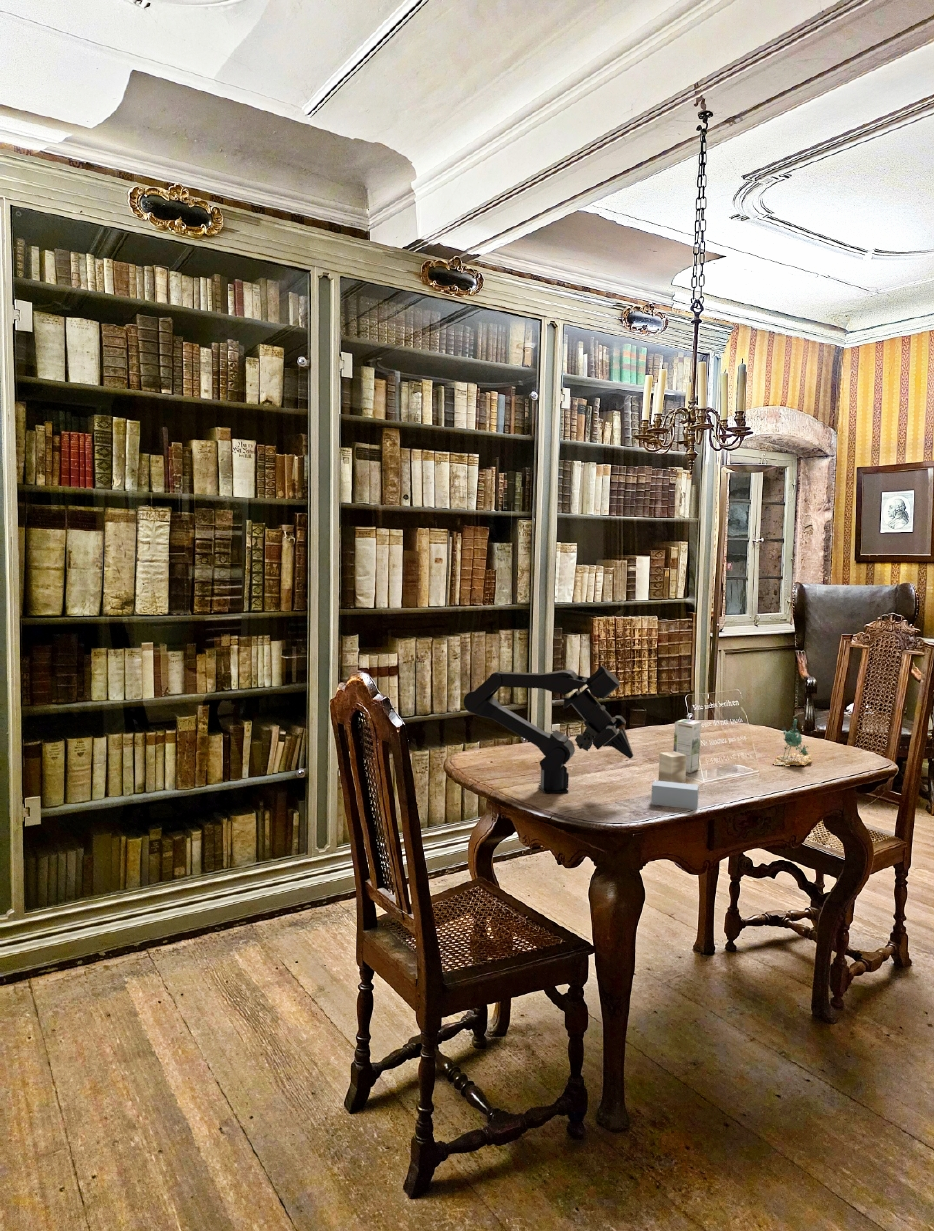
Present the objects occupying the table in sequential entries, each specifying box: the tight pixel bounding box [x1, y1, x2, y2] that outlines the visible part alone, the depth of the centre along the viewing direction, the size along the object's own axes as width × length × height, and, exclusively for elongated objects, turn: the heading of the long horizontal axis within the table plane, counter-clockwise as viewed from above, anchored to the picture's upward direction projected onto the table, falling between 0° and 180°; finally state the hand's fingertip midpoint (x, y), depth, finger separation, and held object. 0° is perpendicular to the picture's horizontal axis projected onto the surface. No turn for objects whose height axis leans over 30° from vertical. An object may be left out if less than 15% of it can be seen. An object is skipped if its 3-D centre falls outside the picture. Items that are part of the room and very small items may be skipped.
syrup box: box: [673, 718, 702, 774], centre depth 236 cm, size 6×6×14 cm
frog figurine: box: [773, 718, 812, 766], centre depth 247 cm, size 10×18×15 cm, turn 116°
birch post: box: [657, 751, 687, 784], centre depth 219 cm, size 5×5×9 cm
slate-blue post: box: [650, 779, 700, 810], centre depth 203 cm, size 5×5×11 cm
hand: (631, 757), depth 206 cm, fingers closed
